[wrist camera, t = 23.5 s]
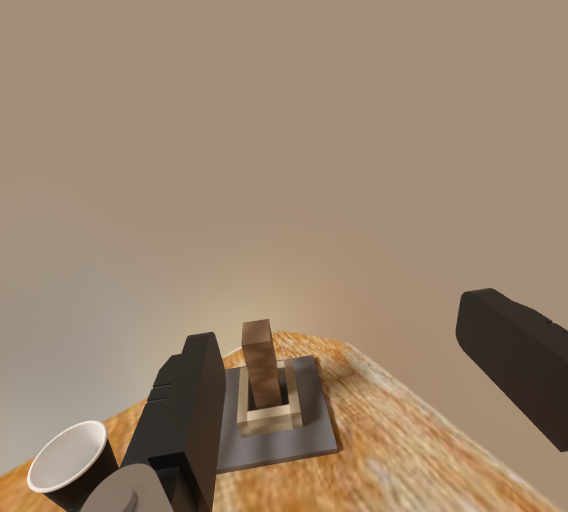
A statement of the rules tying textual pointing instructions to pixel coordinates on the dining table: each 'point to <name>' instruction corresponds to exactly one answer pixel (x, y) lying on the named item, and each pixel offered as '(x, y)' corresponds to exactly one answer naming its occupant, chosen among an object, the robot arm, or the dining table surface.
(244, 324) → the walnut slat
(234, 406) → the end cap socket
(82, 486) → the dixie cup
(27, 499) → the dining table surface
